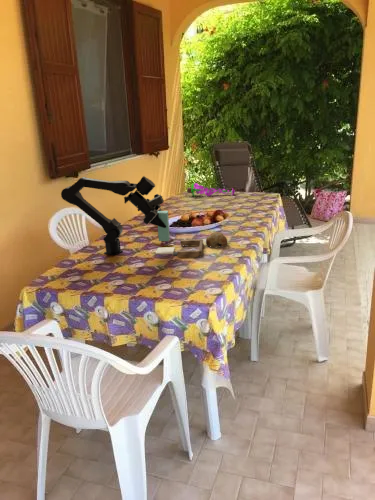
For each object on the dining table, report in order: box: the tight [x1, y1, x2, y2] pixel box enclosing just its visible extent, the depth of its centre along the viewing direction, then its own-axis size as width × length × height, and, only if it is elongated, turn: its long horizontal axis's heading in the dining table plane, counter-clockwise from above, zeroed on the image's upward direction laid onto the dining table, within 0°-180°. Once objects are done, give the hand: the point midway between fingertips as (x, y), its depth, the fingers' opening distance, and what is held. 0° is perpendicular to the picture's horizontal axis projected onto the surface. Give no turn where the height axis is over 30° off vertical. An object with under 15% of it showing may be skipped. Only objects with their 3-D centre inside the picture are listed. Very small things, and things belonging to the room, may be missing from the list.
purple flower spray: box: [186, 182, 236, 198], centre depth 317 cm, size 12×16×35 cm
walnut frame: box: [176, 239, 204, 258], centre depth 198 cm, size 11×17×2 cm, turn 176°
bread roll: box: [205, 231, 228, 248], centre depth 205 cm, size 10×10×8 cm
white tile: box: [155, 246, 176, 255], centre depth 200 cm, size 8×8×1 cm
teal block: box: [157, 210, 171, 242], centre depth 196 cm, size 4×4×13 cm
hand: (166, 225), depth 196 cm, fingers closed on teal block, 4 cm apart
